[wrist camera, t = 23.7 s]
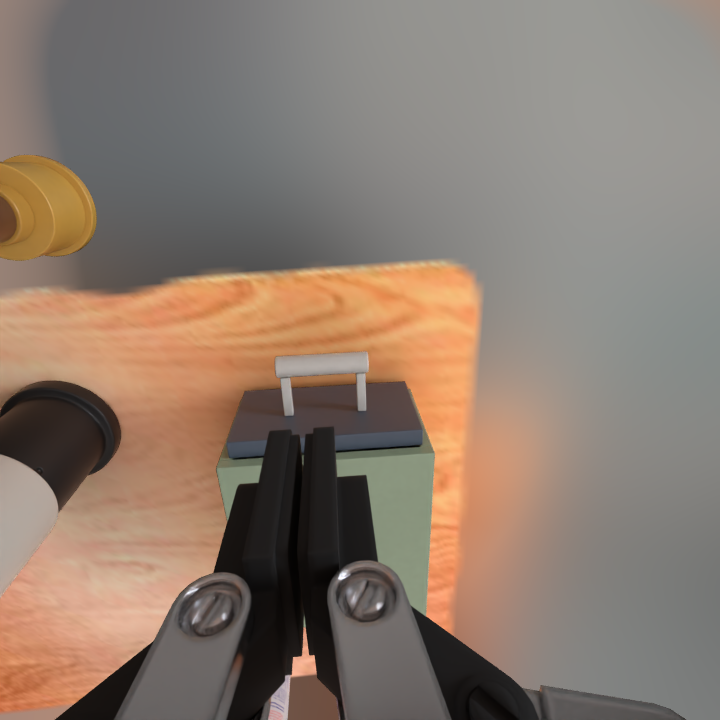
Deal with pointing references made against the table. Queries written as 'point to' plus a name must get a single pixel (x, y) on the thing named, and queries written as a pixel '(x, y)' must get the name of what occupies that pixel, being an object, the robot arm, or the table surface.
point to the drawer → (327, 408)
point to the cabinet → (375, 503)
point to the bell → (42, 209)
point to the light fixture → (46, 462)
